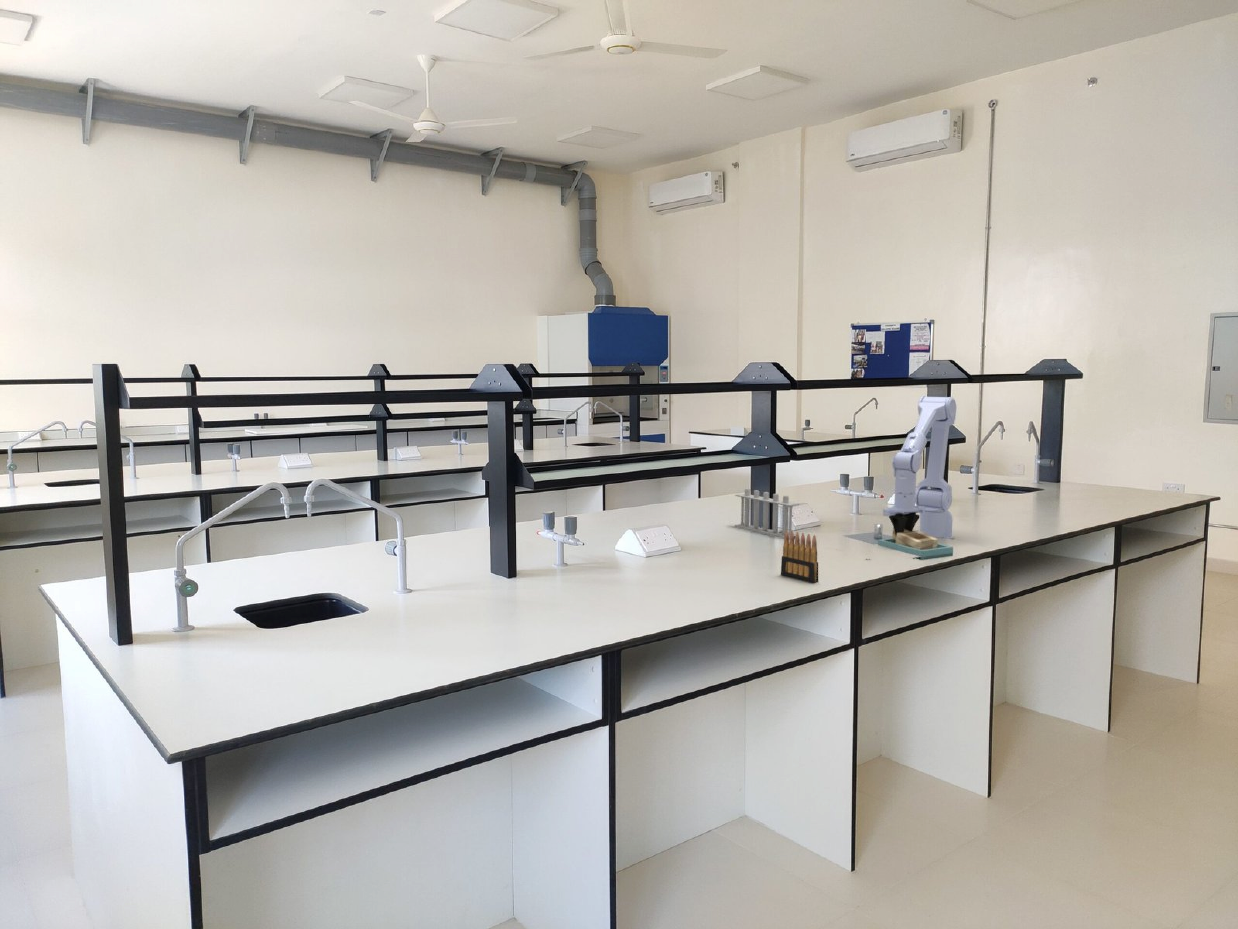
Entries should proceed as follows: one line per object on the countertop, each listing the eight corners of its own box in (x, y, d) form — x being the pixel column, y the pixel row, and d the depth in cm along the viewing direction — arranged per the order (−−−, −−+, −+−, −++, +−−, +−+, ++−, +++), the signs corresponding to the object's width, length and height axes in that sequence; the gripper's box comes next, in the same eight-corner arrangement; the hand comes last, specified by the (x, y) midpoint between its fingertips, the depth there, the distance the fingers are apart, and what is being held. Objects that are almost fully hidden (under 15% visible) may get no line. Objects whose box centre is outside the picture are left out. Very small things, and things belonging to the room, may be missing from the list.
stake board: (907, 543, 256) (907, 526, 255) (874, 547, 250) (874, 529, 250) (874, 535, 268) (875, 518, 268) (842, 538, 263) (843, 521, 262)
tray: (908, 544, 255) (908, 536, 254) (952, 555, 240) (953, 547, 239) (877, 548, 250) (878, 539, 249) (921, 560, 234) (921, 551, 234)
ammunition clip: (780, 575, 218) (781, 529, 217) (785, 574, 219) (786, 528, 218) (813, 583, 210) (815, 536, 208) (818, 582, 211) (819, 535, 210)
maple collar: (936, 550, 242) (938, 539, 241) (915, 553, 239) (917, 541, 238) (904, 536, 253) (906, 525, 252) (884, 539, 250) (885, 528, 249)
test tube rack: (798, 538, 264) (799, 496, 263) (788, 540, 262) (789, 498, 260) (744, 525, 285) (745, 487, 283) (734, 527, 282) (735, 488, 281)
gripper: (913, 489, 253) (911, 534, 255) (876, 492, 247) (874, 538, 249) (931, 492, 247) (929, 538, 249) (893, 495, 241) (891, 542, 242)
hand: (903, 538), depth 248 cm, fingers closed on maple collar, 2 cm apart
